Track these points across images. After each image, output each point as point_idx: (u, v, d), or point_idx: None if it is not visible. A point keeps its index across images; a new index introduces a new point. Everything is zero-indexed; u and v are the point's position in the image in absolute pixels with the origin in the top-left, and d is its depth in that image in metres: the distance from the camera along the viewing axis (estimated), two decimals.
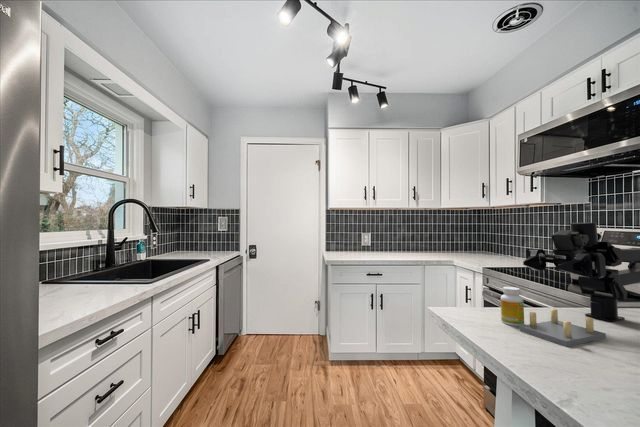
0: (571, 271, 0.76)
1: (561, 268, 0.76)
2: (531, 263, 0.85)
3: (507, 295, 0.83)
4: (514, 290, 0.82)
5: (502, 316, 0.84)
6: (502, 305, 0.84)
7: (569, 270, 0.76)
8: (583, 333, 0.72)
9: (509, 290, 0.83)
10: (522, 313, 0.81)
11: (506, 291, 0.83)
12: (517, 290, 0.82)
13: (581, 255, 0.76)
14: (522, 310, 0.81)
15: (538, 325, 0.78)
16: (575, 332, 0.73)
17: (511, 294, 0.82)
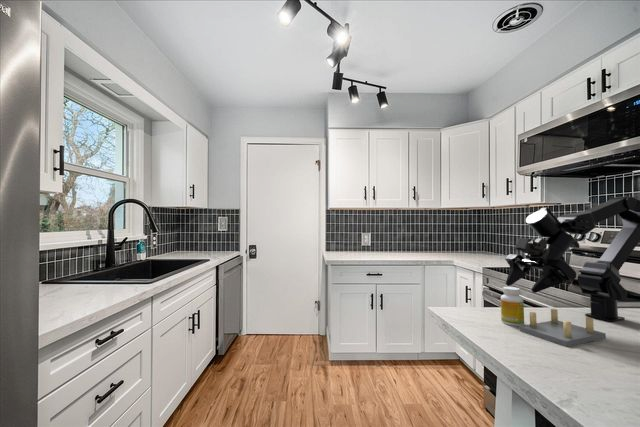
0: (546, 287, 0.79)
1: (535, 291, 0.79)
2: (514, 278, 0.89)
3: (507, 295, 0.83)
4: (514, 290, 0.82)
5: (502, 316, 0.84)
6: (502, 305, 0.84)
7: (543, 288, 0.79)
8: (583, 333, 0.72)
9: (509, 290, 0.83)
10: (522, 313, 0.81)
11: (506, 291, 0.83)
12: (517, 290, 0.82)
13: (546, 268, 0.79)
14: (522, 310, 0.81)
15: (538, 325, 0.78)
16: (575, 332, 0.73)
17: (511, 294, 0.82)
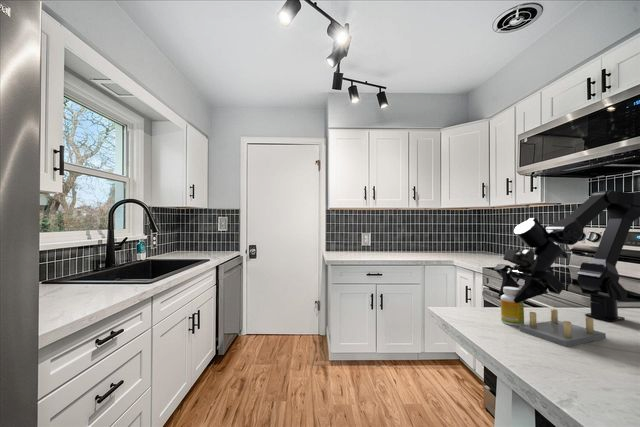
0: (527, 298, 0.80)
1: (517, 301, 0.81)
2: None
3: (507, 295, 0.83)
4: (514, 290, 0.82)
5: (502, 316, 0.84)
6: (502, 305, 0.84)
7: (525, 298, 0.80)
8: (583, 333, 0.72)
9: (509, 290, 0.83)
10: (522, 313, 0.81)
11: (506, 291, 0.83)
12: (517, 290, 0.82)
13: (528, 279, 0.80)
14: (522, 310, 0.81)
15: (538, 325, 0.78)
16: (575, 332, 0.73)
17: (511, 294, 0.82)
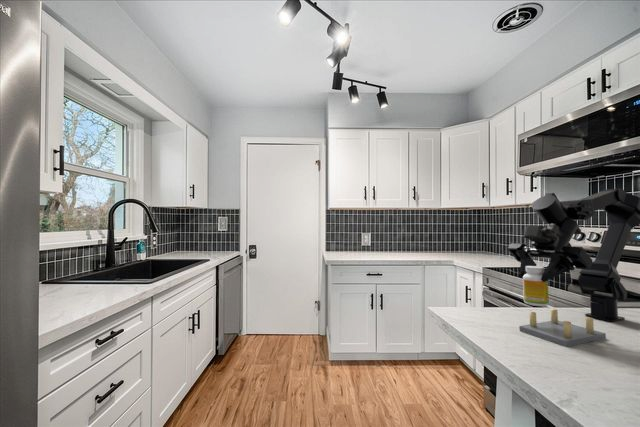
0: (554, 275, 0.76)
1: (545, 280, 0.76)
2: None
3: (532, 274, 0.78)
4: (540, 268, 0.77)
5: (526, 297, 0.79)
6: (526, 285, 0.78)
7: (552, 276, 0.76)
8: (583, 333, 0.72)
9: (534, 269, 0.77)
10: None
11: (531, 270, 0.78)
12: (542, 268, 0.77)
13: (555, 256, 0.75)
14: (547, 289, 0.77)
15: (538, 325, 0.78)
16: (575, 332, 0.73)
17: (536, 273, 0.77)
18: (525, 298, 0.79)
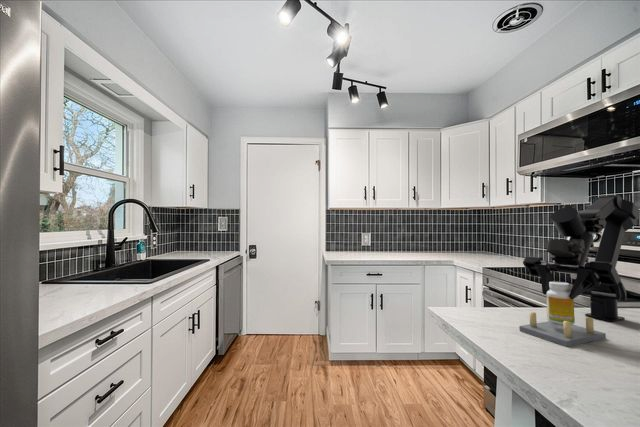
0: (581, 292, 0.73)
1: (573, 297, 0.72)
2: (548, 285, 0.78)
3: (558, 291, 0.74)
4: (566, 285, 0.73)
5: (552, 315, 0.74)
6: (552, 303, 0.74)
7: (579, 293, 0.72)
8: (583, 333, 0.72)
9: (561, 285, 0.73)
10: None
11: (557, 287, 0.74)
12: (568, 285, 0.74)
13: (583, 272, 0.72)
14: (573, 306, 0.73)
15: (538, 325, 0.78)
16: (575, 332, 0.73)
17: (563, 290, 0.73)
18: (551, 316, 0.75)
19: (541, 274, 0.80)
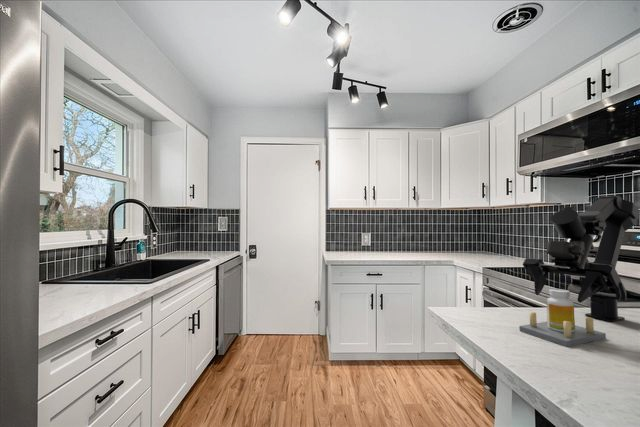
0: (589, 295, 0.71)
1: (581, 300, 0.70)
2: (540, 286, 0.79)
3: (558, 298, 0.74)
4: (567, 292, 0.73)
5: (552, 323, 0.74)
6: (553, 310, 0.74)
7: (588, 296, 0.71)
8: (583, 333, 0.72)
9: (562, 293, 0.73)
10: None
11: (557, 294, 0.74)
12: (569, 292, 0.74)
13: (591, 274, 0.71)
14: None
15: (538, 325, 0.78)
16: (575, 332, 0.73)
17: (564, 297, 0.73)
18: (551, 324, 0.74)
19: (534, 275, 0.81)
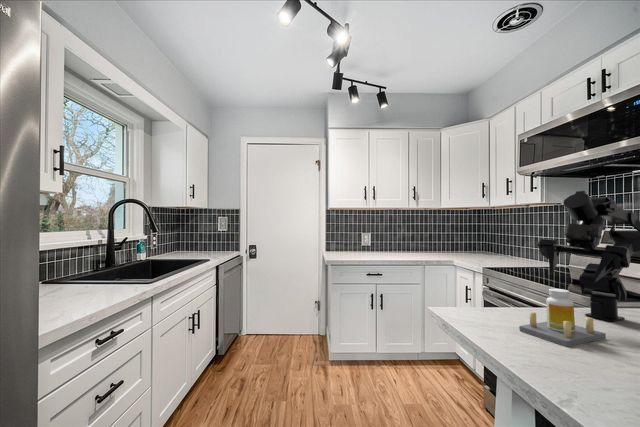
0: (604, 275, 0.76)
1: (597, 280, 0.76)
2: (554, 265, 0.84)
3: (558, 298, 0.74)
4: (566, 292, 0.73)
5: (552, 323, 0.74)
6: (553, 310, 0.74)
7: (602, 275, 0.76)
8: (583, 333, 0.72)
9: (561, 293, 0.73)
10: None
11: (557, 294, 0.74)
12: (568, 292, 0.74)
13: (608, 256, 0.75)
14: (573, 314, 0.73)
15: (538, 325, 0.78)
16: (575, 332, 0.73)
17: (563, 297, 0.73)
18: (551, 324, 0.74)
19: (549, 255, 0.85)
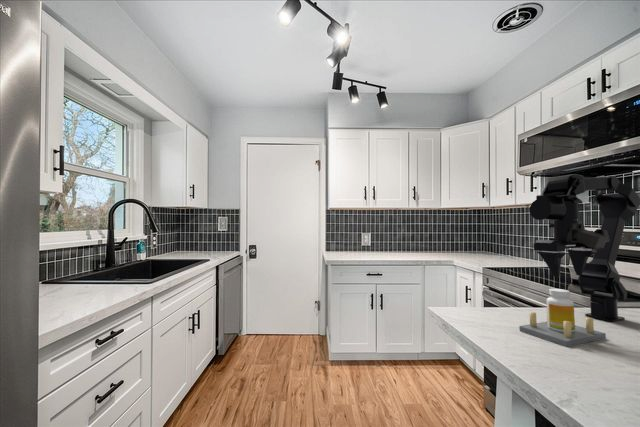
0: None
1: None
2: None
3: (558, 298, 0.74)
4: (567, 292, 0.73)
5: (552, 323, 0.74)
6: (553, 310, 0.74)
7: None
8: (583, 333, 0.72)
9: (562, 293, 0.73)
10: None
11: (558, 294, 0.74)
12: (569, 292, 0.74)
13: (592, 253, 0.83)
14: None
15: (538, 325, 0.78)
16: (575, 332, 0.73)
17: (564, 297, 0.73)
18: (551, 324, 0.74)
19: (558, 260, 0.80)
